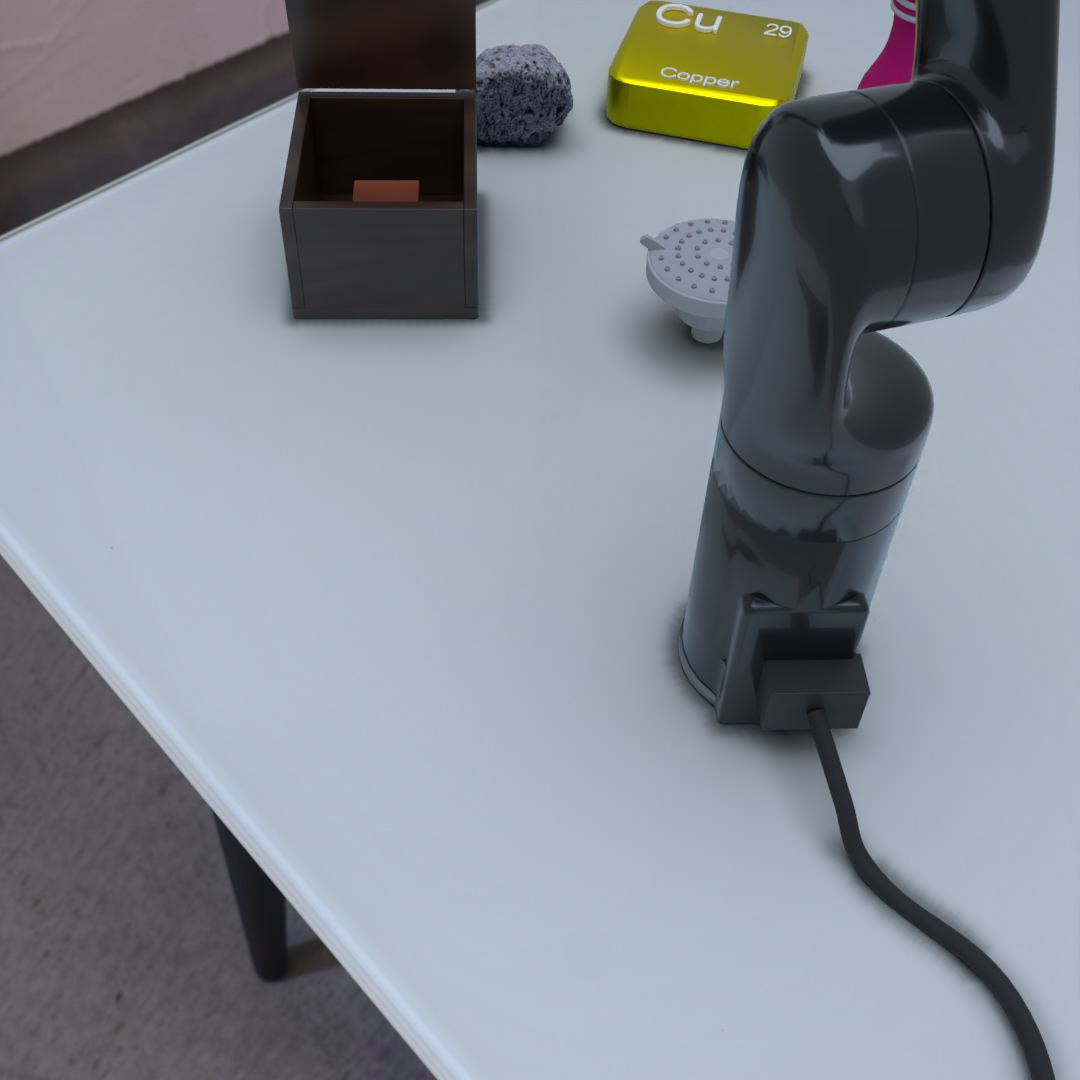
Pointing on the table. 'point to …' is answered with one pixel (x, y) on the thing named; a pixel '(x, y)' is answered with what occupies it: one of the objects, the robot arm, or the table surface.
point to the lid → (383, 44)
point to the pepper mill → (895, 49)
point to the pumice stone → (519, 95)
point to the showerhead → (693, 272)
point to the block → (386, 190)
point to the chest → (382, 206)
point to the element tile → (703, 72)
